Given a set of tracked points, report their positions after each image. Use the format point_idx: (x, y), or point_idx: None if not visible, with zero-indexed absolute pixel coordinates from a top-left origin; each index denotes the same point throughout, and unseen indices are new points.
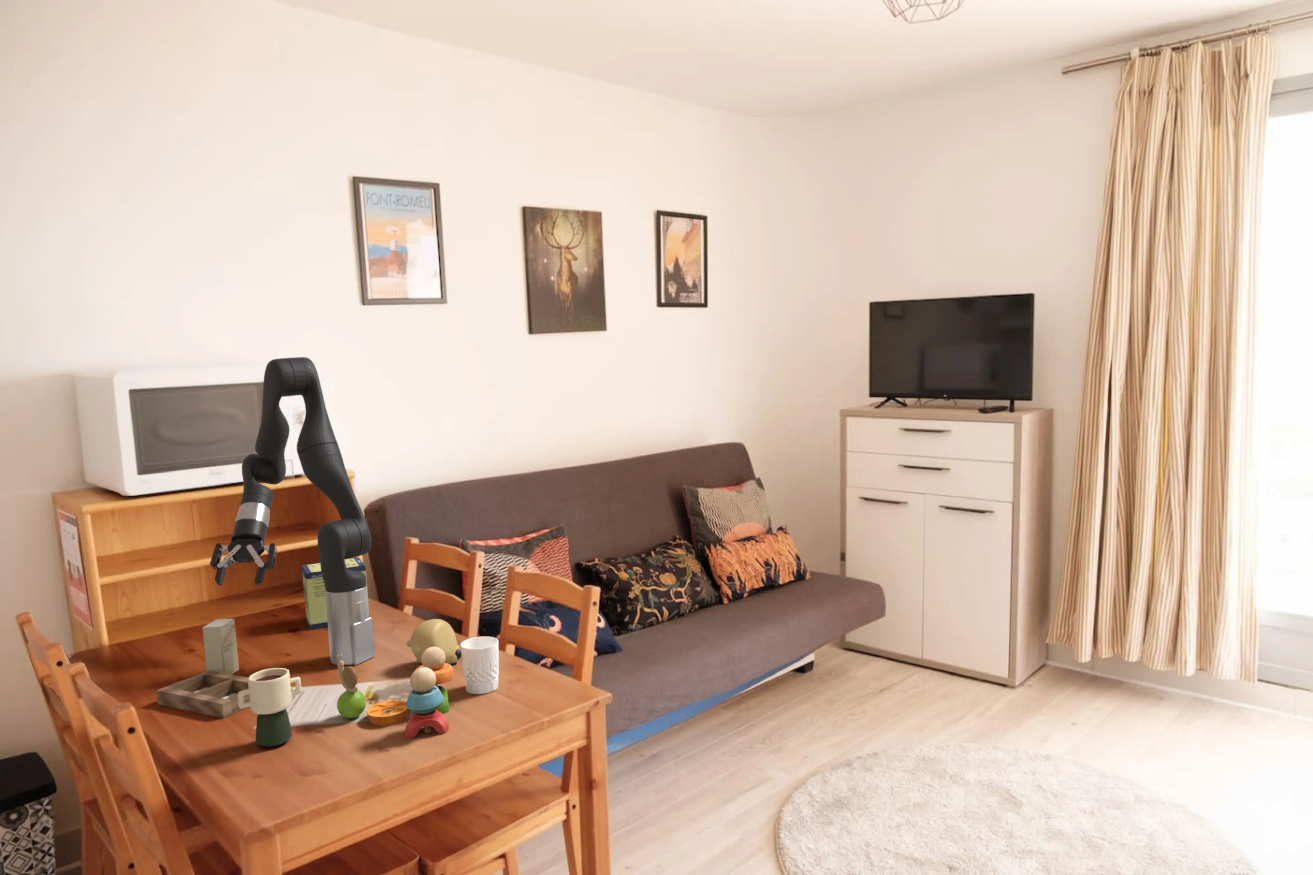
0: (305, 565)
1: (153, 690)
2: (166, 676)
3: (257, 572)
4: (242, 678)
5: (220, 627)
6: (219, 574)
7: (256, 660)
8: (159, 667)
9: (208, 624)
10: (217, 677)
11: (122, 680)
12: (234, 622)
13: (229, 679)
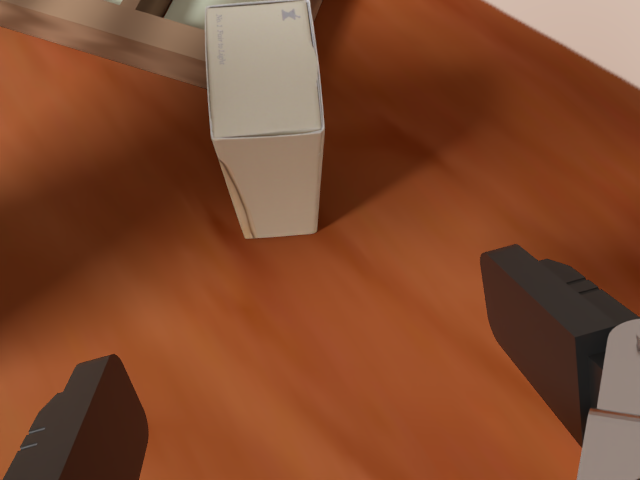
0: None
1: (438, 54)
2: (495, 168)
3: (66, 429)
4: (90, 16)
5: (209, 10)
6: (544, 281)
7: (228, 342)
8: (607, 256)
9: (310, 46)
10: (197, 30)
11: (634, 130)
12: (214, 147)
13: (135, 7)
